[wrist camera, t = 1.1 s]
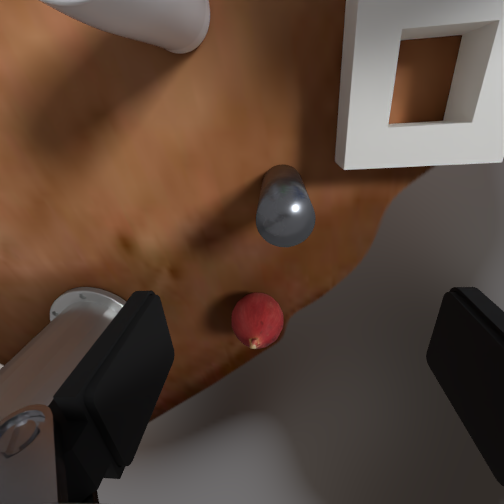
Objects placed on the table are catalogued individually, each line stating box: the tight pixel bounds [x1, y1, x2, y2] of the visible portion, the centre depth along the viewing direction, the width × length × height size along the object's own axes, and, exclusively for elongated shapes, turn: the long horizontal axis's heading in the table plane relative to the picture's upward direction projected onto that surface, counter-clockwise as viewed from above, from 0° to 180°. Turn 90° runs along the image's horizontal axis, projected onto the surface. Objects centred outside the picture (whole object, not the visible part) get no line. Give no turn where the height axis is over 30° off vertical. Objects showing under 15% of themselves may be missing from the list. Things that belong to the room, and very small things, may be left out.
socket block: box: [335, 0, 504, 170], centre depth 21 cm, size 12×12×4 cm
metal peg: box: [256, 165, 315, 247], centre depth 23 cm, size 4×4×10 cm
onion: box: [232, 293, 283, 349], centre depth 31 cm, size 6×6×8 cm
